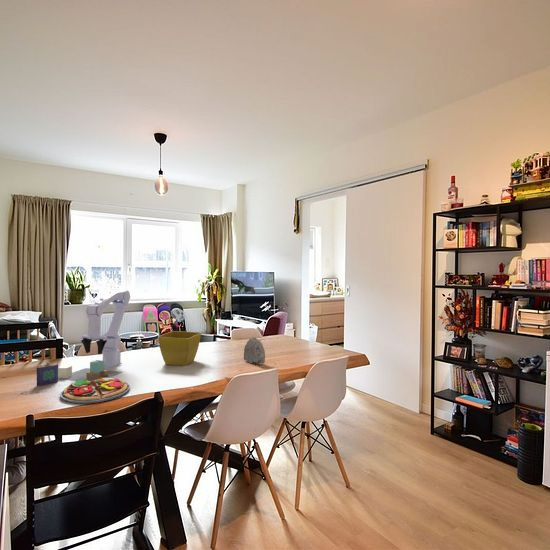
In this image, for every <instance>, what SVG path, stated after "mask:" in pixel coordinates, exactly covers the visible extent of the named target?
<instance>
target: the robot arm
mask: <svg viewBox="0 0 550 550" xmlns="http://www.w3.org/2000/svg"><path fill="white" fill-rule="evenodd" d="M130 294H131V293H130V291H129V290H127V289H126V290H125V289H124V290H121V289H120V290H119V289H116V290H115V289H112V290H111V291H109V294H108V295H107V296H106V297H105V298H103V297H100V299H99V300H97V301H95V303H93V304H89V305H87V307H86V309H85V312H86V317H87V319H88V321H87V322H88V323H87V324H88V326H87V327H88V331H87V333H88V334H81V337H80V338H81V341H80V342H81V344H82V345H83V347H84V351H85V353H86V354H89V353H90V352H91V345H92V341H93V340H94V341H95V340H96V341H95V343H96V345H97V355H101V354H102V361H104V368H113V367H116V366H119V365H121V364H123V362H122V361H121V360H122V359H121V356H122V355H121V354H122V353H121V351H120V350H121V349H119V348H120V346H121V339H122V338H121V336H120V335H119V331H120V327H121V324H122V320H123V318H124V315H125V311H126V308H127V307H128V306H129V302H130V299H131V295H130ZM111 303H112V305H113V306H114V307H115V309H114V313H113V316H112V319H111V322H110V325H109V328H108V331H107V332H105V333H103V334H101V321H102V320H101V318H102V315H103V313H104V311H105V310H106V309H107V308H109V306H110V304H111Z"/></svg>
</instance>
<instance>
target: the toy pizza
mask: <svg viewBox="0 0 550 550" xmlns="http://www.w3.org/2000/svg"><path fill="white" fill-rule="evenodd" d="M130 389H131V385H130V384H129V383H128V382H126V381H124V380H122V379H118V378H114V377H110V378H101V379H97V380H93V381H88V380H78V381H74V382H73V383H71V384H69V385H67V386H66V387H65V388H64V389H63V390H62V391H61V392H60V394H59V395H60V398H61V399H63V400H64V401H65V402H68V403H73V404H93V403H101V402H105V401H106V402H107V401H110V400H111V401H112V400H114V399H117V398H119V397H121V396H123V395H125V394H126V393H127V392H128V391H129V390H130Z"/></svg>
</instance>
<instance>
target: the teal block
mask: <svg viewBox="0 0 550 550" xmlns="http://www.w3.org/2000/svg"><path fill="white" fill-rule="evenodd" d="M89 368H90V372H92V373H99V372H102V371H104V370H105V367H104V361H103V360H100V359H99V360H97V359H96V360H93V361H90V363H89Z"/></svg>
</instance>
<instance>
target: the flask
mask: <svg viewBox="0 0 550 550" xmlns="http://www.w3.org/2000/svg"><path fill="white" fill-rule="evenodd" d="M58 368H59V364H58V363H51V362H50V361H46V364H43V365H40V366H37V367H36V386H37V387H42V386H48V385H51V384H56V383H58V382H59V379H58Z"/></svg>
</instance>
